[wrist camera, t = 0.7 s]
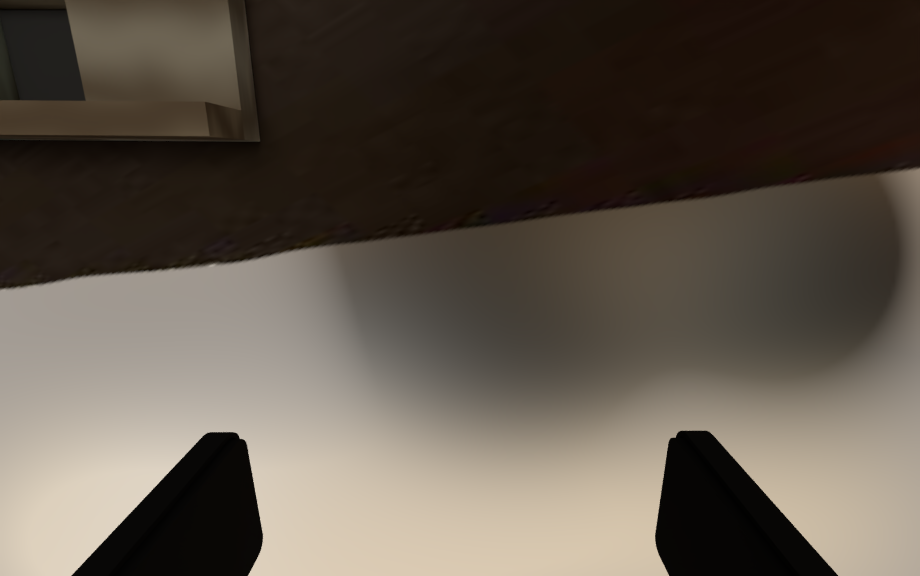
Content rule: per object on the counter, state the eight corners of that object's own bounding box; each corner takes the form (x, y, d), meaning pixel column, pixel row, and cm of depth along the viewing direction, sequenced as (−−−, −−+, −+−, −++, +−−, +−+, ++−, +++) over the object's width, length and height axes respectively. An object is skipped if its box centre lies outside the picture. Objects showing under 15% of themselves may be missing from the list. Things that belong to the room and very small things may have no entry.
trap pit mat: (0, 10, 32) (-3, 10, 32) (93, 11, 32) (91, 10, 31) (25, 111, 34) (23, 110, 33) (113, 111, 34) (111, 111, 33)
